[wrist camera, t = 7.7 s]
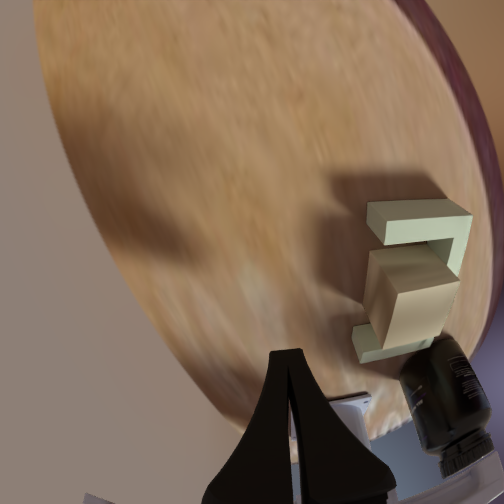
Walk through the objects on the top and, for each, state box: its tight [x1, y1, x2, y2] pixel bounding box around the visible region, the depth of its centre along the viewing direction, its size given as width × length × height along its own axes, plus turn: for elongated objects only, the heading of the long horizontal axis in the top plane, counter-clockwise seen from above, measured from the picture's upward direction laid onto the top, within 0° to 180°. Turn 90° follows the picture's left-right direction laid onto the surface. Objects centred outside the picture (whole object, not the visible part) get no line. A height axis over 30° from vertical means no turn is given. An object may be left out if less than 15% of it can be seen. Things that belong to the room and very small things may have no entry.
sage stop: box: [351, 199, 473, 364], centre depth 14 cm, size 10×6×2 cm, turn 7°
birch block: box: [362, 244, 460, 350], centre depth 14 cm, size 4×4×4 cm
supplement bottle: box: [399, 339, 494, 479], centre depth 15 cm, size 7×7×12 cm
